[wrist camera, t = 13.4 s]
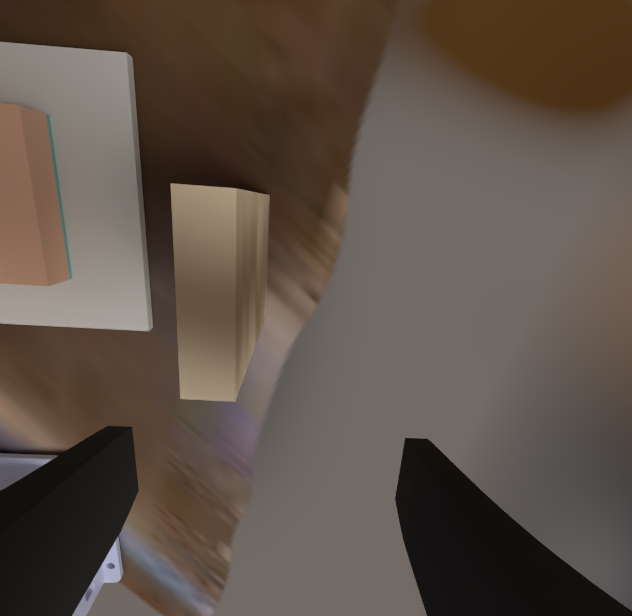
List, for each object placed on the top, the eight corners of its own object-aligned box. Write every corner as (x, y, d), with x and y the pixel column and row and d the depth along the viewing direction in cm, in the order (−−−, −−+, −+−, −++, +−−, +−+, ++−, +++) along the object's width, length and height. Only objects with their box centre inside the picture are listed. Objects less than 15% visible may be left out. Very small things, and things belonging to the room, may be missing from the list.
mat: (153, 327, 18) (148, 331, 17) (-90, 314, 17) (-101, 318, 17) (132, 57, 14) (126, 52, 14) (-172, 32, 14) (-189, 25, 13)
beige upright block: (265, 316, 18) (235, 401, 10) (234, 314, 18) (180, 398, 10) (269, 195, 16) (236, 188, 9) (235, 192, 16) (170, 183, 8)
